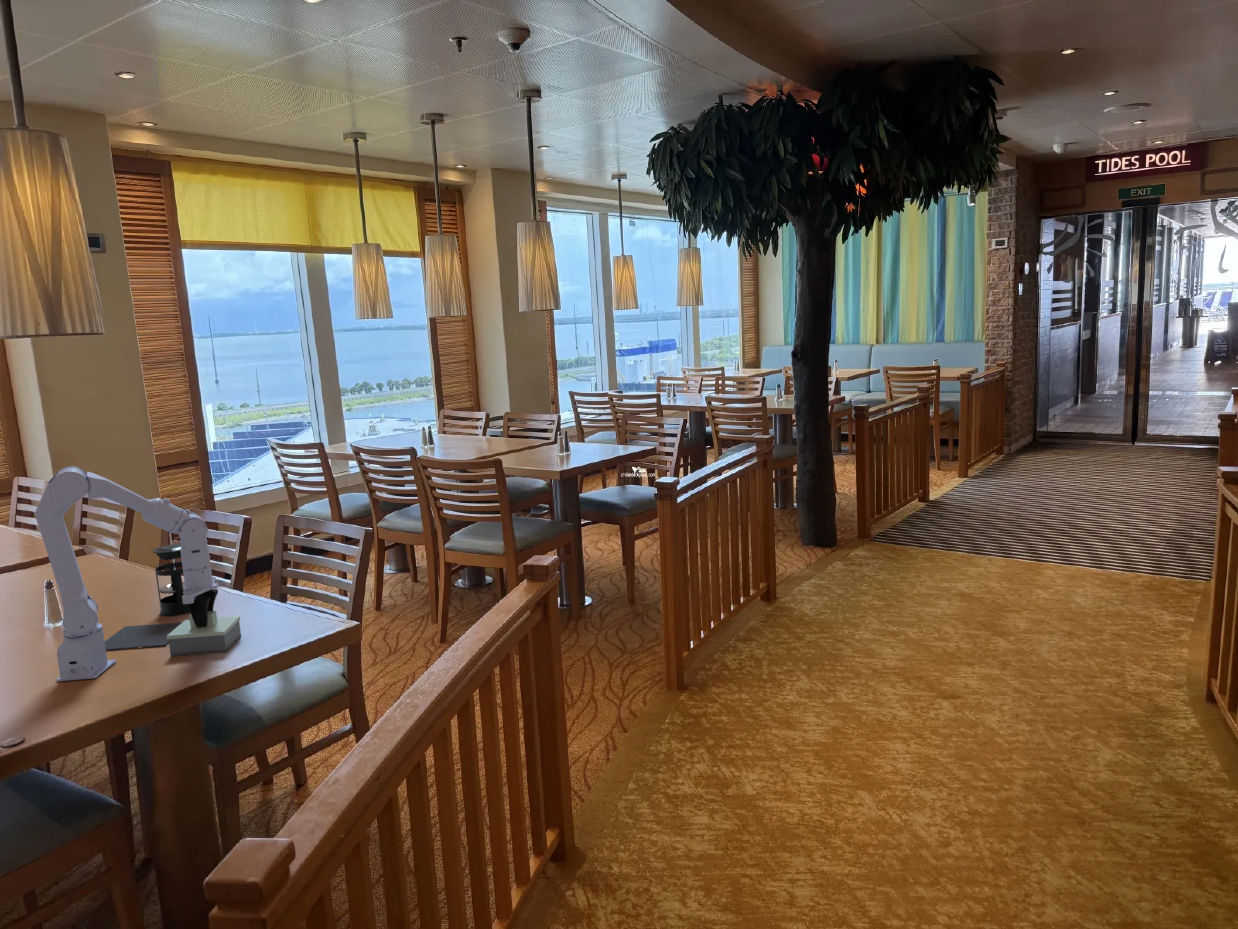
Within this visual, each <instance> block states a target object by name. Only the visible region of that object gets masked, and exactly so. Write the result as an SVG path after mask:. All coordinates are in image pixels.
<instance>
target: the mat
mask: <svg viewBox="0 0 1238 929" xmlns="http://www.w3.org/2000/svg"><path fill="white" fill-rule="evenodd" d="M183 622H184V621H182V622H181V621H180V622H167V623H165V622H164V623H154V624H153V623H152V624H141V625H139V624H138V625H128V626H127V625H126V626H124V627H122V628H121V629H120V630H118V631H116V633H114V634H113V635H111V636H110V637H109V638H107V639H106V640H104V641H105V648H106V650H111V651H121V650H120V649H124V650H131V649H130V648H137V649H139V648H138V647H150V648H158V647H159V648H161V647H160V646H163V647H166V646H168V645H169V644H168V643H169V639H167V635H168V634H169V633H171V632H172V631H173V630H174V629H175V628H177V627H178V626H179V625H180V624H181V623H183Z"/></svg>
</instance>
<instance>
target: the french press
mask: <svg viewBox="0 0 1238 929" xmlns="http://www.w3.org/2000/svg"><path fill="white" fill-rule="evenodd" d="M167 533H168V534H169V540H170V544H166V545H162V546H159V547H156V548H154V549H152V553H153V554H155V555H156V556H158V558H159V559H161V560H164V561H169V560H170V561H171V560H172V562H168V563H163V564H161V565H158V566H156V567H155V569H154V572H155V577H156V585H157V592H158V600H159V608H160V610H159V614H160V615H161V616H163V615H164V617H176V616H175V615H177V616H182V615H181V614H183V615H186V614H185V613H187V614H190V612H189V610H188V609H187V608H186V606H185V605H184V604H183V601H182V596H183V595H184V588H185V582H184V581H183V578H182V574H183V566H182V561H175V560H177V559H181V551H180V550H181V543H174V544H173V539H172V533H170V532H168V531H167ZM178 567H179V568H178ZM180 567H182V568H180ZM167 569H169V570H167ZM160 576H161V577H169V576H170V583H169V584H167V585H166V584H165V585H163V586H161V587H160V586H159V585H160V584H159V577H160ZM161 594H165V595H166V594H171V595H168V596H164V597H162V598H161Z"/></svg>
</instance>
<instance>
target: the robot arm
mask: <svg viewBox="0 0 1238 929" xmlns="http://www.w3.org/2000/svg"><path fill="white" fill-rule="evenodd" d="M86 494H88V496H87V497H88V498H87V499H99V498H101V499H102V498H105V499H107V500H110V501H113V502H115V503H117V504H119V505H122V506H125V507H127V508H130V509H131V510H134V511H136V512H138V513H140V514H141V517H142V520H143V521H144V522H146V523H148V524H150V525H153V526H154V527H157V528H158V529H161V530H163V531H166V532H167V533H168V532H170V533H171V534H177V535H178V537H179V540H180V544H181V550H180V551H181V558H180V559H181V562H182V566H181V567H182V568H183V573H182V574H183V580H184V581H183V582H185V588H184V592H183V593H184V595H183V596H182V601H183V604H184V605H185V606H186V608H187V609H188V610H189V612H190V613H189V614H190V615H191V616H192V618H193V620H194V623H195V625H196V627H206V626H207V620H208V611H214V606H215V602H216V598H217V597H218V596H217V595H218V593H219V590H218V589H217V588H218V587H219V585H220V584H219V583H217V579H216V576H213V575H212V574H213V573H212V565H211V557H210V548H209V545H208V539H207V535H208V533H209V528H208V527H207V524H206V522H205V520H204V519H203V518H202V517H201V516H200V515H198V513H196V512H192V511H191V510H190V509H188V508H186V509H183V508H181V507H178V506H176V505H175V504H173V503H171V499H168V498H166V497H164V498H163V499H162V498H160V497H155V498H152V499H148V498H146V497H143V496H142V495H140V494H138V493H136V492H134V491H132V490H130V489H128V488H126V487H125V486H123V485H120V484H118V483H116V482H114V481H112V480H110V479H108V478H106V477H104V476H101V475H99V474H96V473H94V472H91V471H85V470H83V469H81V468H80V467H77V466H66V467H63V468H61V469H59V470H58V471H57V472H56V473H55V474H54V475H53V476H52V477H51V478H50V479H49V480H48V482H47V485H46V487H45V489H44V492H43V493H42V496H41V498H40V500H39V503H38V504H37V507H36V510H35V519H36V523H37V525H38V529H39V532H40V534H41V538H42V541H43V543H44V547H45V550H46V554H47V557H48V559H49V562H50V566H51V568H52V572H53V575H54V576H53V577H54V578H55V581H56V585H57V588H58V591H59V595H60V599H61V606H62V609H63V618H62V626H63V631H62V635H63V636H62V637H63V640H62V642H61V644H60V645H59V646H58V648H57V652H56V657H57V665H58V669H59V675H60V676H58V677H57V678H56V680H55V681H56V682H65V681H77V680H78V681H79V680H90V679H92V680H93V679H97V678H98V677H99V676H101V674H103V673H104V672H105V671H106V670H108V669H109V668H110V667H111V666H113V665H114V664H115V663H116V662H117V660H116V659H109V660H108V656H107V651H106V648H105V641H106V640H105V636H104V635H105V634H104V628H103V624H102V623H100V622H99V616H98V612H99V606H98V604H97V602H96V601H95V600H94V599H93V598H92V597H91V596H90V594H89V592H88V589H87V587H86V584H85V581H84V579H83V576H82V572H81V568H80V566H79V562H78V560H77V556H76V553H75V550H74V547H73V543H72V540H71V538H70V534H69V531H68V528H67V524H66V521H65V518H64V516H65V514H66V513H67V512H68V511H69V509H70V508H71V506H72V505H73V504H76V503H77V502H79V501H80V500H81V499H82V498H84V497H85V496H86Z"/></svg>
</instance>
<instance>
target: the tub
mask: <svg viewBox="0 0 1238 929" xmlns="http://www.w3.org/2000/svg"><path fill="white" fill-rule="evenodd" d="M241 632H242V630H241V623H240V620H239V621H238V622H237V623H236V624H235V625H234V626H233V627H232V628H231V629H230V630H229V631H228V632H227V633H226V634H225V635H218V636H204V637H191V638H178V639H169V644H168V645H169V653H170V657H178V655H181V656H189V654H194V655H203V654H204V655H205V654H206V655H208V654H218V653H219V654H220V653H227V652H228V651H229V650H230V649H231V648H232V647H233V646H234V645H235V643H237V641H239V639H240V638H241V637H242V633H241ZM230 647H231V648H230ZM175 655H176V656H175Z"/></svg>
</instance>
